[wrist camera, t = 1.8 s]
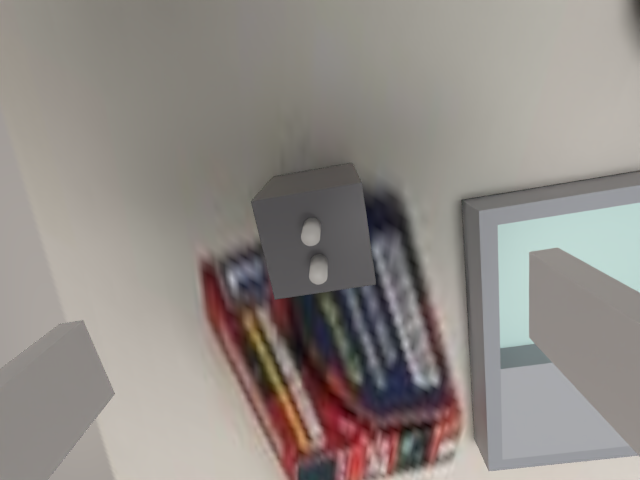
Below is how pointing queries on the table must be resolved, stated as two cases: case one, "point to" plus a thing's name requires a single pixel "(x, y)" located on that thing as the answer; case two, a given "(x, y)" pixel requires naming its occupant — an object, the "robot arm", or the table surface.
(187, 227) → the table surface
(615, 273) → the walled box
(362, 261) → the connector
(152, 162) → the table surface
